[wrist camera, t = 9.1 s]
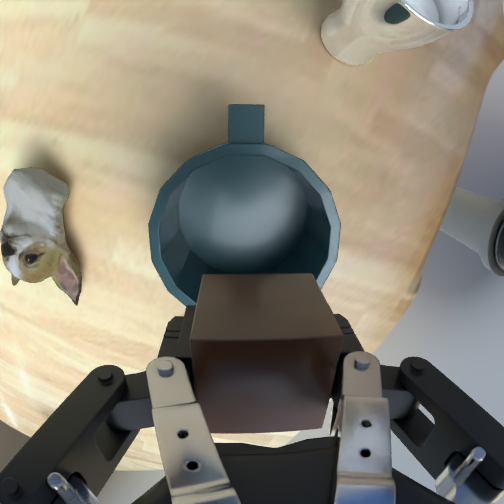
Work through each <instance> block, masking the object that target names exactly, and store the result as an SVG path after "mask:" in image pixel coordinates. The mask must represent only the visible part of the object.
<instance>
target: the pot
mask: <svg viewBox="0 0 504 504" xmlns="http://www.w3.org/2000/svg"><path fill="white" fill-rule="evenodd" d="M148 224H149V225H148V227H149V239H150V250H151V259H152V262H153V264H154V266H155V268H156V270H157V272H158V274H159V276H160V277H161V279H162V281H163V283H164V285H165V287H166V288H167V290H168V291H169V292H170V293H171V294H172V295H173V296H174V297H175V298H177V299H178V300H179V301H180V302H181V303H183V304H184V305H185V306H186V307H187V305H197V300H198V295H199V290H200V285H201V281H202V276H203V274H304V273H312V274H313V276H314V278H315V280H316V282H317V284H318V286H319V288H320V290H321V289H322V287H323V285H324V283H325V281H326V280H327V278H328V276H329V274H330V272H331V270H332V269H333V267H334V265H335V263H336V261H337V257H338V248H339V239H340V229H341V223H340V220H339V217H338V213H337V210H336V207H335V204H334V201H333V198H332V194H331V191H330V190H329V188H328V187H327V186H326V185H325V183H324V182H323V181H322V180H321V179H320V178H319V177H318V176H317V174H316V173H315V172H314V171H313V170H312V169H311V168H310V167H309V166H308V164H307V163H306V162H305V161H304V160H302V159H300V158H297V157H295V156H293V155H291V154H289V153H286V152H284V151H282V150H280V149H278V148H275V147H273V146H271V145H268V144H265V143H264V105H253V104H229V105H228V142H226V143H223V144H221V145H218V146H216V147H214V148H211V149H209V150H207V151H204V152H202V153H200V154H198V155H196V156H194V157H192V158H190V159H188V160H187V161H186V162H185V163H184V164H183V165H182V166H181V167H180V168H179V169H178V170H177V171H176V172H175V173H174V174H173V176H172V177H171V178H170V179H169V180H168V181H167V182H166V183H165V184H164V185H163V186H162V188H161V189H160V191H159V194H158V197H157V200H156V203H155V205H154V208H153V211H152V214H151V217H150V220H149V223H148Z"/></svg>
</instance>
